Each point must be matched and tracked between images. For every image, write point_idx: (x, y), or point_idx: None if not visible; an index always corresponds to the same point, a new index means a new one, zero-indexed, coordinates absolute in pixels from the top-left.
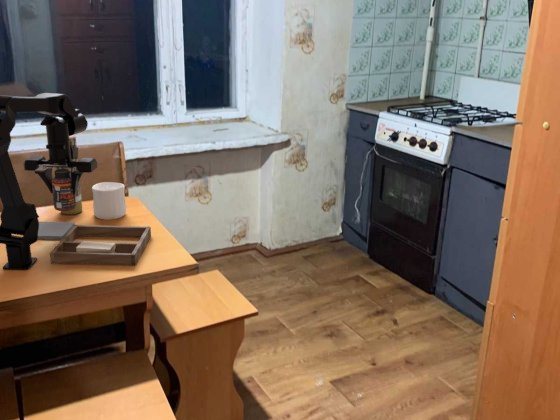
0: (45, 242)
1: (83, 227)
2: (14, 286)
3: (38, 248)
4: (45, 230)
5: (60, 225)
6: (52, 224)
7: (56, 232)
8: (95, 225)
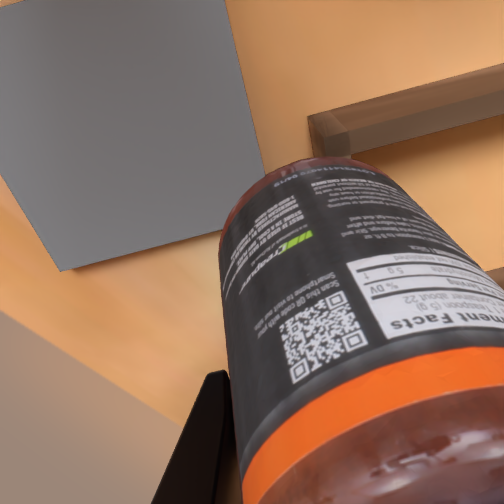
0: (208, 260)
1: (390, 140)
2: None
3: (222, 318)
4: (118, 172)
5: (148, 56)
6: (75, 56)
7: (207, 177)
8: (473, 98)
